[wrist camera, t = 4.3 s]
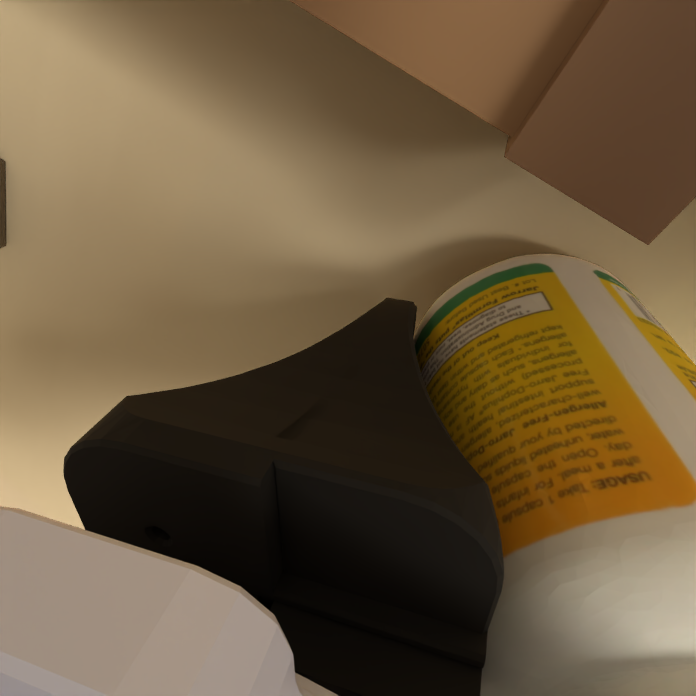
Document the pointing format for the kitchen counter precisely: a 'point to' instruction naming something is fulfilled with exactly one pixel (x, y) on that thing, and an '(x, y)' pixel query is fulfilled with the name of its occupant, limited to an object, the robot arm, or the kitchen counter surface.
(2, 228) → the latch post
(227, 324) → the kitchen counter surface
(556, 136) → the brown wooden block
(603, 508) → the supplement bottle
